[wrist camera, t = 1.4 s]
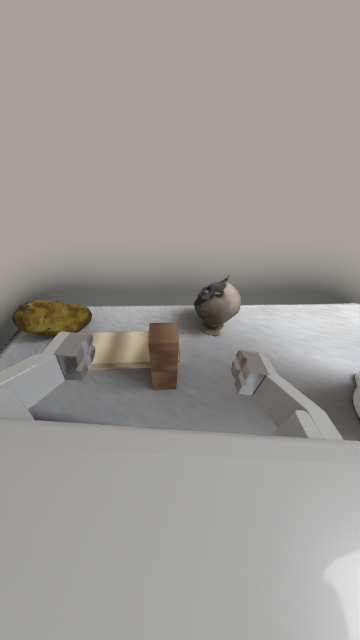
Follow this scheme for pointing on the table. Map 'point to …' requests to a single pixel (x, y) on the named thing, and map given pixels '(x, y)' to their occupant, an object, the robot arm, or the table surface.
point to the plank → (121, 350)
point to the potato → (51, 317)
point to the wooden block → (163, 354)
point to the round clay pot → (216, 306)
